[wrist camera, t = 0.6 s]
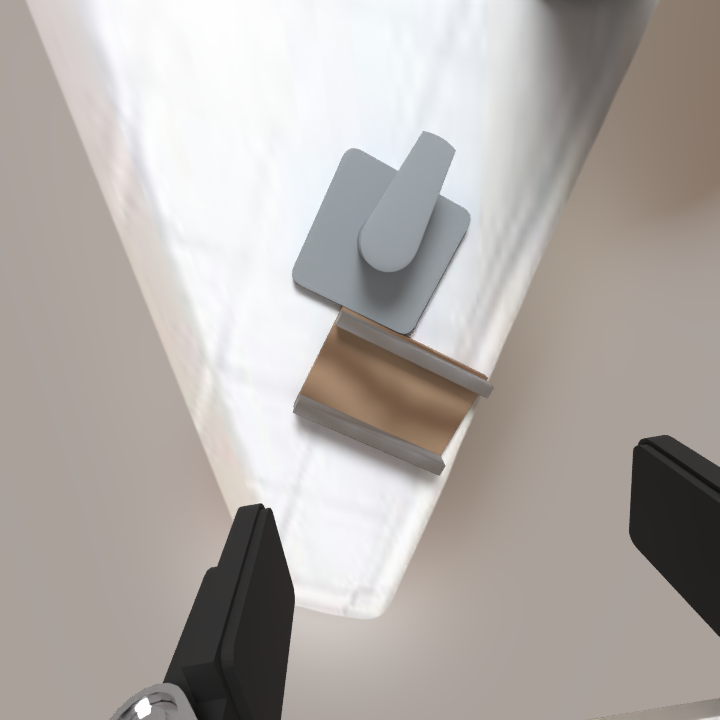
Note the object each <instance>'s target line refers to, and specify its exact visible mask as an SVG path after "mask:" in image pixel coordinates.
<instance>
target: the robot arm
mask: <svg viewBox="0 0 720 720" xmlns="http://www.w3.org/2000/svg"><path fill="white" fill-rule="evenodd" d="M629 534H630V537H631V540H632V542H633V543H634V545H635V546H636V548H637V549H638V550H639V551H640V552H641V553H642V554H643V555H644V556H645V557H646V558H647V559H648V560H649V562H650V563H651V564H652V565H653V566H654V567H655V568H656V569H657V570H658V571H659V572H660V573H661V574H662V576H663V577H664V578H665V579H666V580H667V581H668V582H669V583H670V584H671V585H672V586H673V587H674V588H675V589H676V591H677V592H678V593H679V594H680V595H681V596H682V597H683V598H684V599H685V600H686V601H687V602H688V604H689V605H691V607H692V608H693V609H694V610H695V611H696V612H697V613H698V614H699V615H700V616H701V617H702V619H703V620H704V621H705V622H706V623H707V624H708V625H709V626H710V627H711V628H712V629H713V630H714V631H715V633H716V634H717V635H718V636H720V467H718V466H717V465H715V464H714V463H712V462H711V461H709V460H707V459H706V458H704V457H703V456H701V455H699V454H698V453H696V452H695V451H693V450H692V449H690V448H688V447H687V446H685V445H683V444H682V443H680V442H679V441H677V440H675V439H674V438H672V437H670V436H668V435H662V436H656V437H650V438H644V439H641V440H640V442H639V443H638V446H636V447H635V448H634V450H633V464H632V484H631V503H630V523H629ZM294 605H295V594H294V588H293V584H292V580H291V577H290V573H289V569H288V566H287V562H286V559H285V555H284V551H283V548H282V544H281V541H280V537H279V533H278V530H277V526H276V522H275V519H274V515H273V512H272V510H271V508H266V509H265V508H264V505H263V504H261V503H260V504H254V505H248V506H243V507H240V508H239V509H238V511H237V513H236V516H235V519H234V522H233V525H232V527H231V530H230V533H229V535H228V539H227V541H226V544H225V546H224V549H223V552H222V555H221V558H220V560H219V563H218V566H217V567H212V568H210V569H209V570H207V572H206V574H205V576H204V578H203V581H202V584H201V586H200V589H199V591H198V594H197V596H196V599H195V602H194V604H193V607H192V609H191V612H190V614H189V617H188V619H187V622H186V625H185V627H184V630H183V632H182V635H181V637H180V640H179V643H178V645H177V648H176V650H175V653H174V655H173V658H172V661H171V663H170V666H169V668H168V671H167V673H166V676H165V679H164V681H163V683H161V684H155V685H152V686H150V687H147V688H144V689H143V690H141V691H140V692H138V693H136V694H135V695H134V696H132V697H130V698H129V699H128V700H127V701H126V702H125V703H124V704H123V705H122V706H121V707H120V708H118V709H117V711H116V712H115V713H114V714H113V716H112V717H111V718H110V720H281V713H282V705H283V697H284V687H285V680H286V672H287V663H288V655H289V646H290V638H291V630H292V622H293V613H294ZM590 720H720V698H719V699H712V700H706V701H700V702H693V703H687V704H680V705H674V706H668V707H662V708H657V709H650V710H644V711H638V712H632V713H626V714H620V715H613V716H607V717H601V718H596V719H590Z"/></svg>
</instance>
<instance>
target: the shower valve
mask: <svg viewBox="0 0 720 720" xmlns="http://www.w3.org/2000/svg"><path fill="white" fill-rule="evenodd" d="M455 151H456V150H455V149H454V148H453V147H452V146H451V145H450V144H449V143H448V142H447V141H445V140H444V139H442V138H441V137H439V136H437V135H435V134H432V133H429V132H425V131H423V132H422V134H421V136H420V137H419V139H418V140H417V142H416V144H415V145H414V147H413V148H412V150H411V152H410V153H409V155H408V157H407V158H406V160H405V161H404V163H403V165H402V166H401V168H400V169H399V171H397V170H395V169H393V168H392V167H390V166H388V165H386V164H385V163H383V162H381V161H379V160H377V159H376V158H374V157H372V156H370V155H369V154H367V153H365V152H363V151H361V150H359V149H355V148H352V149H349V150H348V151H346V153H345V154H344V155H343V157H342V159H341V161H340V164H339V166H338V168H337V171H336V173H335V175H334V177H333V180H332V182H331V184H330V186H329V189H328V191H327V193H326V195H325V198H324V200H323V202H322V204H321V207H320V209H319V211H318V213H317V216H316V218H315V220H314V222H313V225H312V227H311V229H310V231H309V234H308V236H307V238H306V240H305V243H304V245H303V247H302V249H301V252H300V254H299V256H298V258H297V261H296V263H295V265H294V268H293V271H292V277H293V279H294V281H295V282H296V283H297V284H299V285H300V286H302V287H305V288H307V289H309V290H311V291H313V292H315V293H317V294H319V295H321V296H323V297H325V298H327V299H329V300H331V301H334V302H336V303H338V304H340V305H342V306H344V307H346V308H348V309H350V310H352V311H354V312H356V313H358V314H360V315H363V316H365V317H367V318H369V319H371V320H373V321H375V322H377V323H379V324H381V325H383V326H385V327H387V328H390V329H392V330H394V331H396V332H398V333H401V334H407V333H409V332H411V331H412V330H413V328H414V327H415V325H416V323H417V321H418V319H419V318H420V316H421V314H422V312H423V310H424V308H425V306H426V305H427V303H428V301H429V299H430V297H431V295H432V293H433V291H434V290H435V288H436V286H437V284H438V282H439V280H440V278H441V277H442V275H443V273H444V271H445V269H446V267H447V265H448V264H449V262H450V260H451V258H452V256H453V254H454V252H455V250H456V249H457V247H458V245H459V243H460V241H461V239H462V237H463V236H464V234H465V232H466V230H467V228H468V226H469V223H470V214H469V213H468V211H467V210H466V209H464V208H463V207H461V206H459V205H457V204H456V203H454V202H452V201H450V200H449V199H447V198H445V197H443V196H441V195H440V194H439V193H440V190H441V187H442V185H443V182H444V180H445V177H446V174H447V172H448V169H449V167H450V164H451V161H452V159H453V156H454V154H455Z"/></svg>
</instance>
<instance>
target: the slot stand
mask: <svg viewBox="0 0 720 720" xmlns="http://www.w3.org/2000/svg"><path fill="white" fill-rule="evenodd" d="M487 379H488V378H487V377H486V376H485V375H484V374H482V373H480V372H478V371H476V370H474V369H472V368H470V367H468V366H466V365H463V364H461V363H459V362H457V361H455V360H453V359H451V358H449V357H447V356H445V355H443V354H441V353H439V352H437V351H435V350H433V349H431V348H429V347H427V346H425V345H423V344H421V343H419V342H417V341H415V340H413V339H411V338H409V337H407V336H405V335H403V334H401V333H398V332H396V331H394V330H392V329H390V328H387V327H385V326H383V325H381V324H379V323H377V322H375V321H373V320H371V319H369V318H367V317H365V316H363V315H360V314H358V313H356V312H354V311H352V310H350V309H348V308H346V307H344V306H342V308H341V310H340V312H339V314H338V316H337V318H336V320H335V322H334V324H333V326H332V328H331V330H330V332H329V334H328V336H327V338H326V340H325V342H324V344H323V346H322V348H321V350H320V352H319V354H318V356H317V358H316V360H315V362H314V364H313V366H312V368H311V370H310V372H309V374H308V376H307V378H306V380H305V382H304V384H303V387H302V389H301V391H300V393H299V395H298V397H297V399H296V401H295V403H294V409H293V413H295V414H298V415H300V416H302V417H305V418H307V419H309V420H312V421H314V422H316V423H319V424H321V425H323V426H326V427H328V428H330V429H332V430H335V431H337V432H339V433H342V434H344V435H346V436H349V437H351V438H353V439H356V440H358V441H360V442H363V443H365V444H367V445H370V446H372V447H374V448H377V449H379V450H381V451H384V452H386V453H388V454H391V455H393V456H395V457H397V458H400V459H402V460H404V461H407V462H409V463H411V464H414V465H416V466H418V467H421V468H423V469H425V470H428V471H430V472H432V473H435V474H437V475H439V476H440V474H441V472H442V471H443V469H444V467H445V464H444V462H443V460H442V458H441V454H442V452H443V451H444V449H445V448H446V446H447V444H448V443H449V441H450V439H451V438H452V436H453V435H454V433H455V431H456V430H457V428H458V426H459V425H460V423H461V422H462V420H463V418H464V417H465V415H466V413H467V412H468V410H469V409H470V407H471V405H472V404H473V402H474V400H475V399H476V397H477V396H478V394H479V395H481V396H483V397H486V398H488V396H489V395H490V394H491V392H492V390H493V389H494V387H493V386H492V385H491V384H490V383H488V382H487Z"/></svg>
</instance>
